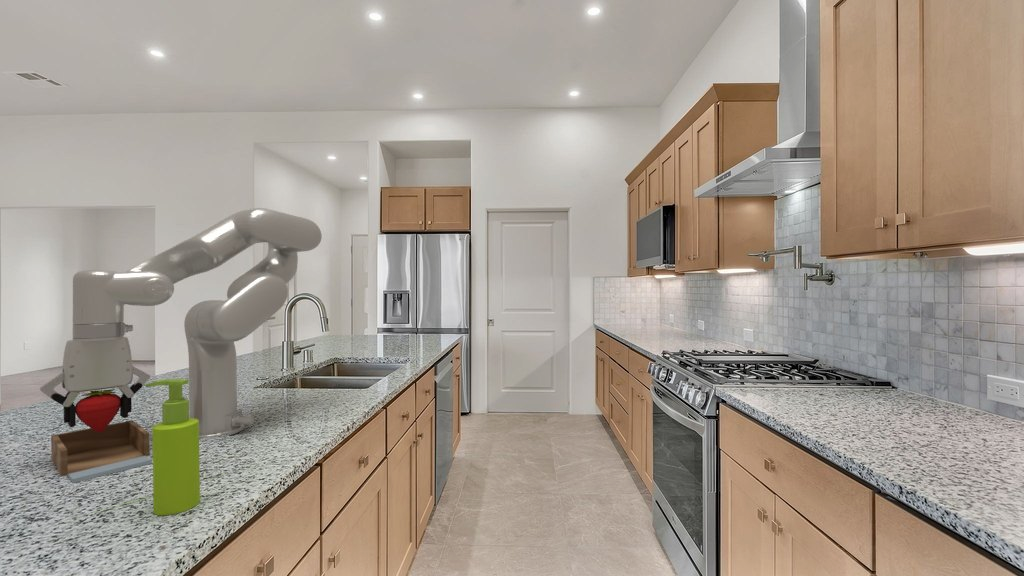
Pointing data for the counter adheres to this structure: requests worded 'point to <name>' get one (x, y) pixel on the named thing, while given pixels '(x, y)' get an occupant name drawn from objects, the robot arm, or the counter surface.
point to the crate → (98, 447)
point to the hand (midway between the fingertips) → (98, 420)
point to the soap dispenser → (175, 454)
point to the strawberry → (98, 409)
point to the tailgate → (108, 469)
